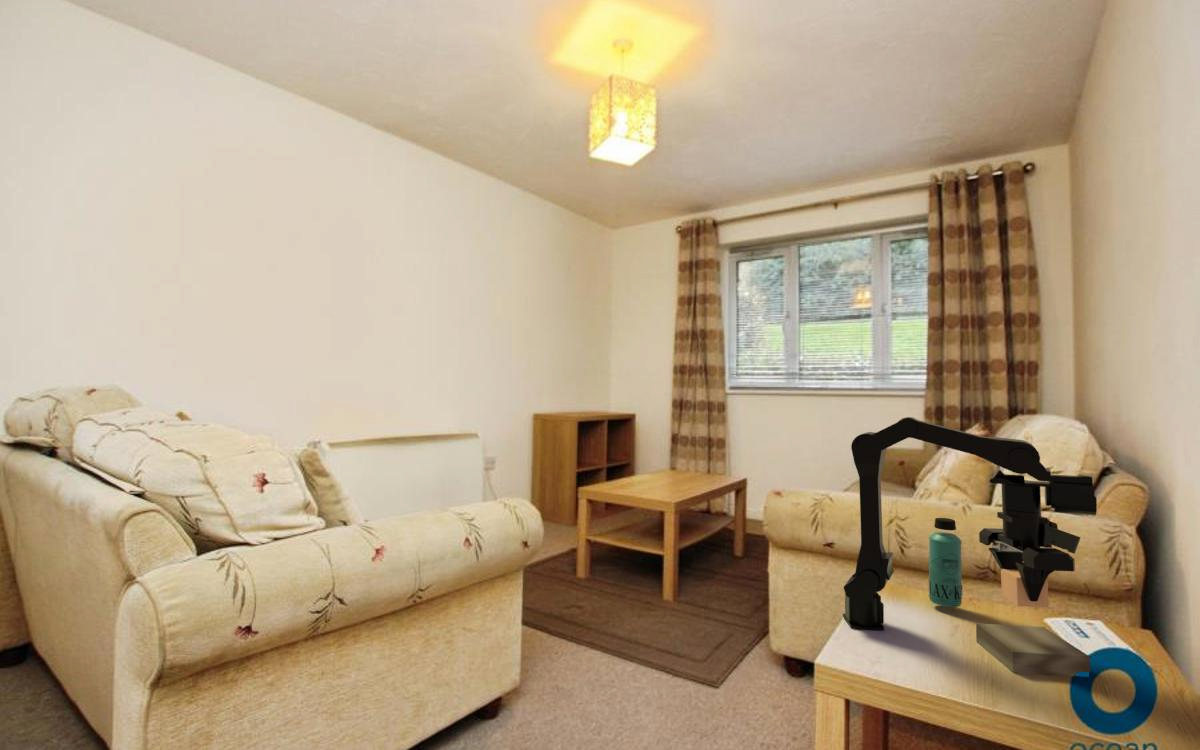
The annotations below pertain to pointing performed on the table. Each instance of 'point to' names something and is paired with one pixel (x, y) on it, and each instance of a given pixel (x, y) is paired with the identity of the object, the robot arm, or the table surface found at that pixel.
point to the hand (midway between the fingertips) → (1024, 595)
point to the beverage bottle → (945, 565)
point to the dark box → (1031, 650)
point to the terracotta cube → (1020, 590)
